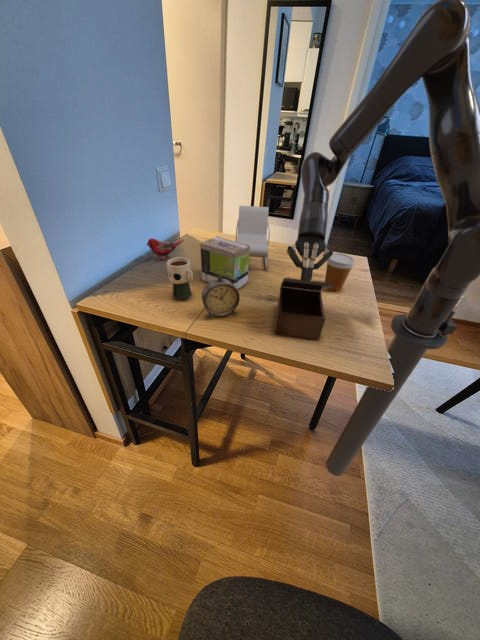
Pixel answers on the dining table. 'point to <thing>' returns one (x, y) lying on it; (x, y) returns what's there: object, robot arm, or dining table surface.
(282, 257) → the dining table surface
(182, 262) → the character mug
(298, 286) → the lid
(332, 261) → the disposable coffee cup
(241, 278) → the tea box
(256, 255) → the chair
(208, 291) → the alarm clock
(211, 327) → the dining table surface
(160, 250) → the decorative bird figurine
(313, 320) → the dark brown box
